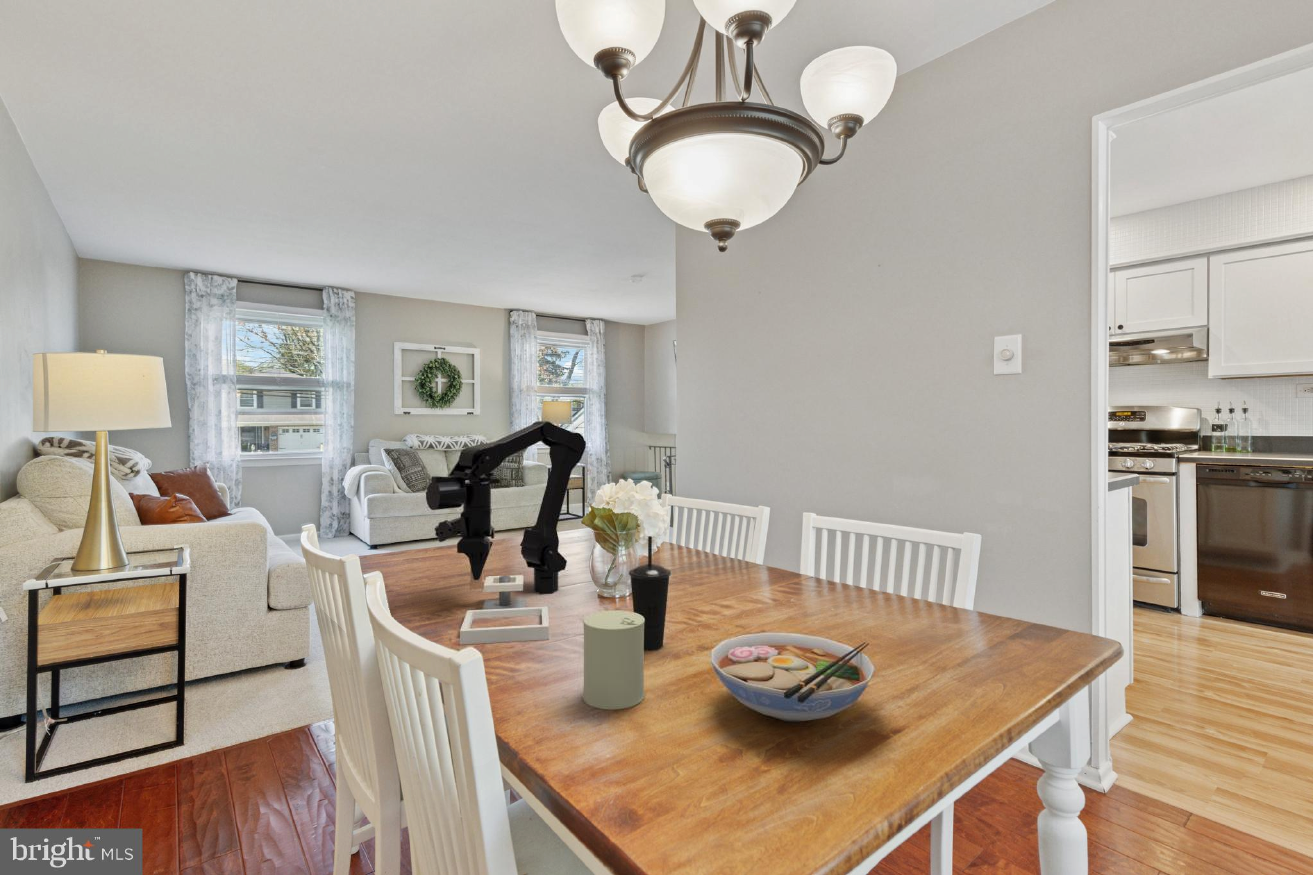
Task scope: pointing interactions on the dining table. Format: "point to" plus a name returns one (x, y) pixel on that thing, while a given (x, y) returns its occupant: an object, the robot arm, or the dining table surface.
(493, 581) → the ring
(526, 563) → the robot arm
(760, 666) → the ramen bowl
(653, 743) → the dining table surface
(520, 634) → the tray
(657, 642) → the drinking cup
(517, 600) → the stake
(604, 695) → the can
